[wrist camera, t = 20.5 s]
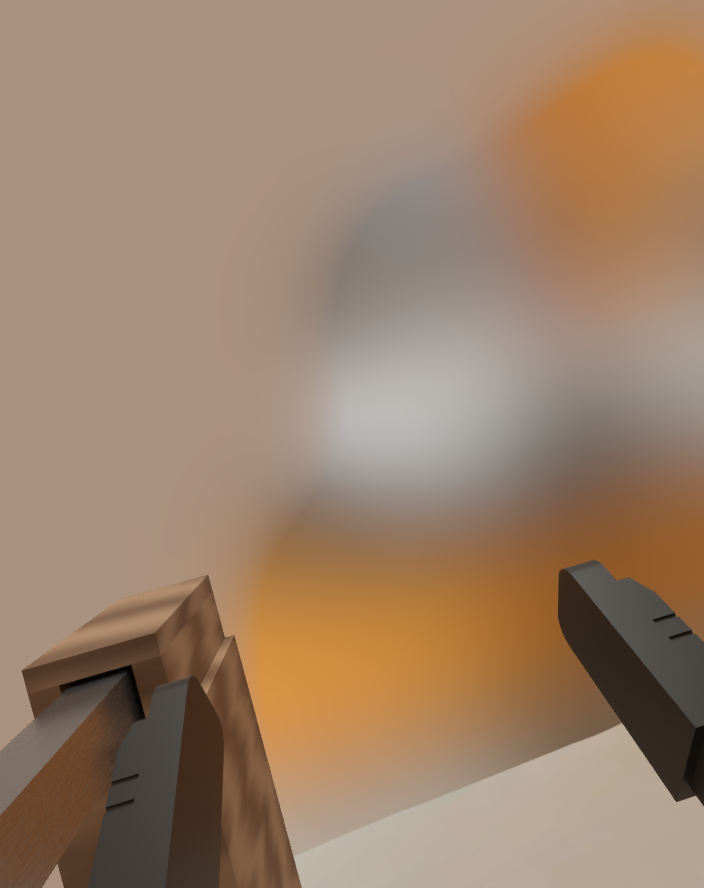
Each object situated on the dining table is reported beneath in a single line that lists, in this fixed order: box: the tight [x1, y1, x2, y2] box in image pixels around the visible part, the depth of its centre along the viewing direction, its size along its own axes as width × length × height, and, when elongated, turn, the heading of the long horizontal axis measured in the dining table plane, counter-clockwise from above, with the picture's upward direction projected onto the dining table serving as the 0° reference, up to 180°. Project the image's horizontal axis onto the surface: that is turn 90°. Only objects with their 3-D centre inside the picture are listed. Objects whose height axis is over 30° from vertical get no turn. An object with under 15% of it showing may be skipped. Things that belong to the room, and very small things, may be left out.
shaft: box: [0, 665, 146, 888], centre depth 20 cm, size 27×3×3 cm, turn 4°
